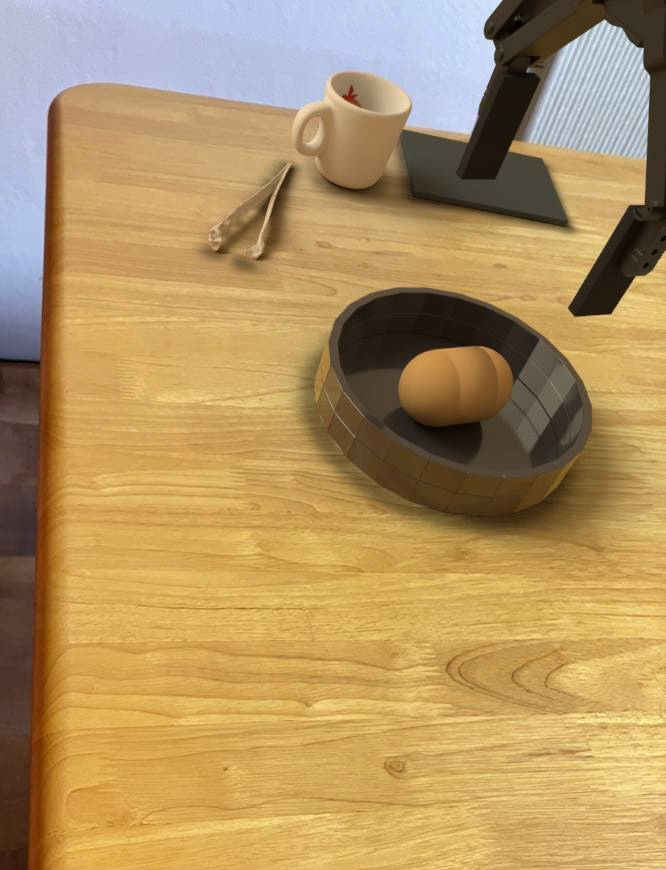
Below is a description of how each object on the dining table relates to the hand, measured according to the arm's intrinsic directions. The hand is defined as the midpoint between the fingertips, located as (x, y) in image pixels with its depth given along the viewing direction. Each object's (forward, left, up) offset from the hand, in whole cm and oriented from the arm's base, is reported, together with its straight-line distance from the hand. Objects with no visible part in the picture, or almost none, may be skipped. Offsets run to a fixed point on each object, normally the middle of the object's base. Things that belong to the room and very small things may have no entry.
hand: (528, 240), depth 54 cm
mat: (-10, -37, -15) cm, 41 cm away
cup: (+6, -32, -16) cm, 36 cm away
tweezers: (+13, -24, -16) cm, 31 cm away
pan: (0, 0, -15) cm, 15 cm away
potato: (0, 0, -15) cm, 15 cm away
